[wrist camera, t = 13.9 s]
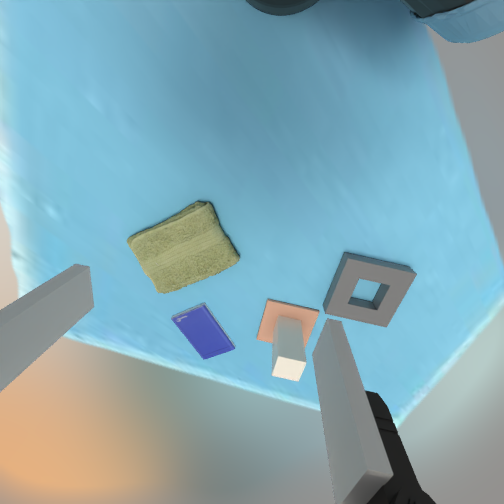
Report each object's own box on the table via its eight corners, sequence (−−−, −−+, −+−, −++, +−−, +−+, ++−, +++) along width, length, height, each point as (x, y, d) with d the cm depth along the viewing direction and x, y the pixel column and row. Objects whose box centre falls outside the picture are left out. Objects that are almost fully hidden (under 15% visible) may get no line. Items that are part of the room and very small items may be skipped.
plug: (278, 315, 47) (278, 356, 38) (300, 320, 47) (306, 362, 38) (272, 332, 49) (271, 375, 40) (294, 337, 49) (298, 381, 40)
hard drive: (170, 319, 50) (203, 360, 54) (203, 305, 48) (234, 349, 52) (173, 314, 51) (204, 354, 55) (205, 300, 49) (235, 344, 53)
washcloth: (126, 236, 45) (116, 243, 42) (208, 194, 40) (203, 199, 37) (166, 292, 49) (159, 302, 46) (244, 260, 44) (242, 268, 42)
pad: (267, 298, 47) (267, 300, 46) (318, 310, 47) (319, 312, 46) (256, 337, 51) (256, 339, 50) (303, 347, 51) (303, 350, 50)
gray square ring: (344, 252, 42) (348, 258, 39) (409, 266, 41) (416, 273, 39) (322, 305, 46) (325, 313, 44) (381, 318, 46) (386, 327, 44)
